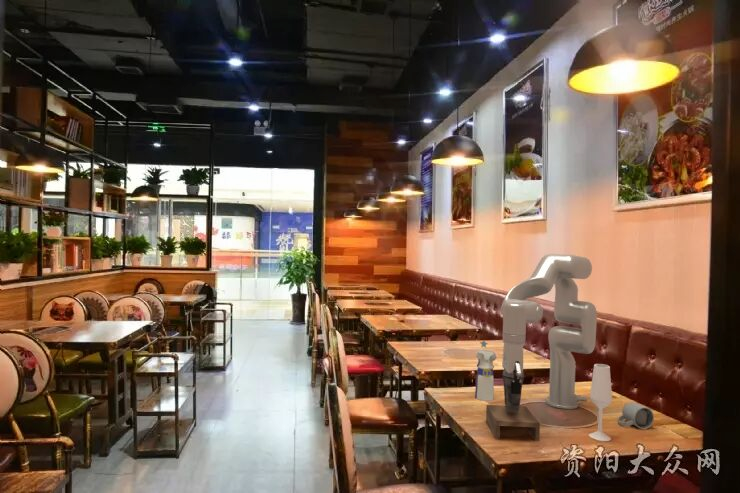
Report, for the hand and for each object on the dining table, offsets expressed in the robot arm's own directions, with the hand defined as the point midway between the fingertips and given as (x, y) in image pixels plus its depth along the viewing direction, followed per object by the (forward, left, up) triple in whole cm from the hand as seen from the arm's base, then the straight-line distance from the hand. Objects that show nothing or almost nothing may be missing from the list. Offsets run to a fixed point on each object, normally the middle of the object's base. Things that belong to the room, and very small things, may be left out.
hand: (512, 389), depth 164 cm
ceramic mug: (-46, -10, -14) cm, 50 cm away
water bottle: (+2, -35, -14) cm, 38 cm away
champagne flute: (-29, +2, -14) cm, 32 cm away
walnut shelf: (0, 0, -14) cm, 14 cm away
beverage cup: (0, 0, -7) cm, 7 cm away
